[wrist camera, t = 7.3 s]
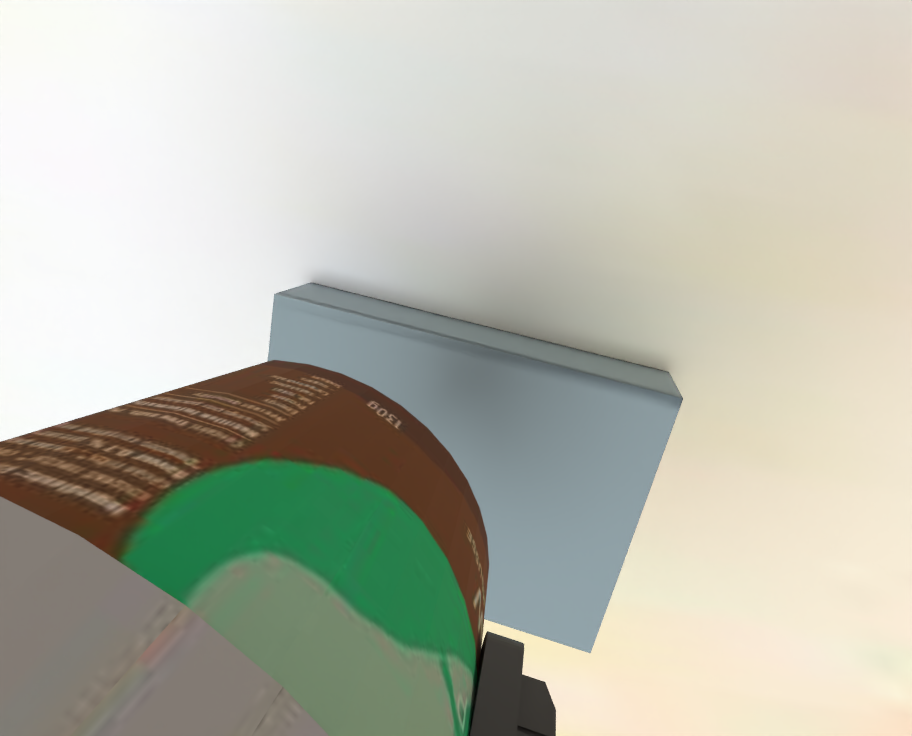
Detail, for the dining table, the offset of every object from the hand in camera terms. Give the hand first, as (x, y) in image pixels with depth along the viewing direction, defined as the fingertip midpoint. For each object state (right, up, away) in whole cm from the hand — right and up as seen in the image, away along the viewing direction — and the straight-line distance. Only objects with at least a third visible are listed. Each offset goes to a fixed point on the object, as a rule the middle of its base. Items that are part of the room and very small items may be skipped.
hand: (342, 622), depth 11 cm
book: (+2, 0, +22) cm, 22 cm away
